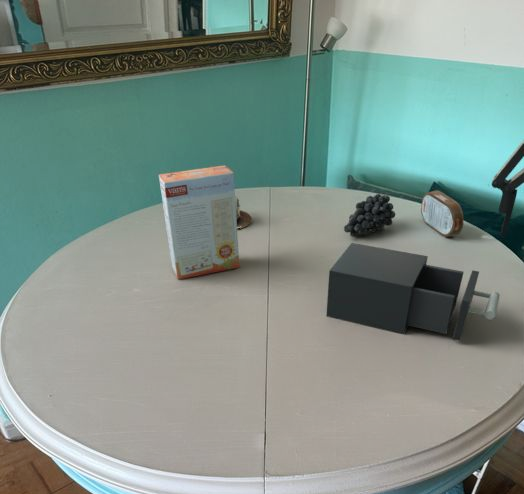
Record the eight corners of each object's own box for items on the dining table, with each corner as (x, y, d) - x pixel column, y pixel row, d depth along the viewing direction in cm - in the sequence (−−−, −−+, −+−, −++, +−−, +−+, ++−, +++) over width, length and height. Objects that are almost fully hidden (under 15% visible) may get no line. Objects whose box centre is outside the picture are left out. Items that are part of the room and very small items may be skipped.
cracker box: (231, 257, 118) (226, 163, 105) (240, 268, 113) (235, 172, 101) (171, 268, 114) (157, 172, 101) (177, 280, 109) (164, 181, 97)
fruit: (353, 205, 117) (398, 189, 124) (329, 207, 124) (373, 191, 131) (359, 243, 120) (403, 225, 127) (335, 242, 127) (378, 225, 134)
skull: (209, 206, 140) (233, 179, 134) (237, 233, 142) (262, 208, 136) (194, 222, 130) (218, 194, 124) (224, 251, 132) (250, 224, 127)
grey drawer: (494, 313, 95) (505, 276, 90) (486, 347, 87) (498, 307, 82) (397, 293, 101) (403, 257, 97) (382, 323, 93) (387, 285, 89)
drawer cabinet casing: (419, 301, 101) (427, 256, 95) (404, 334, 92) (412, 287, 86) (347, 285, 106) (351, 242, 100) (326, 316, 97) (329, 270, 91)
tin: (460, 241, 122) (468, 206, 117) (448, 242, 122) (456, 208, 117) (427, 217, 134) (433, 185, 129) (416, 219, 133) (421, 186, 128)
